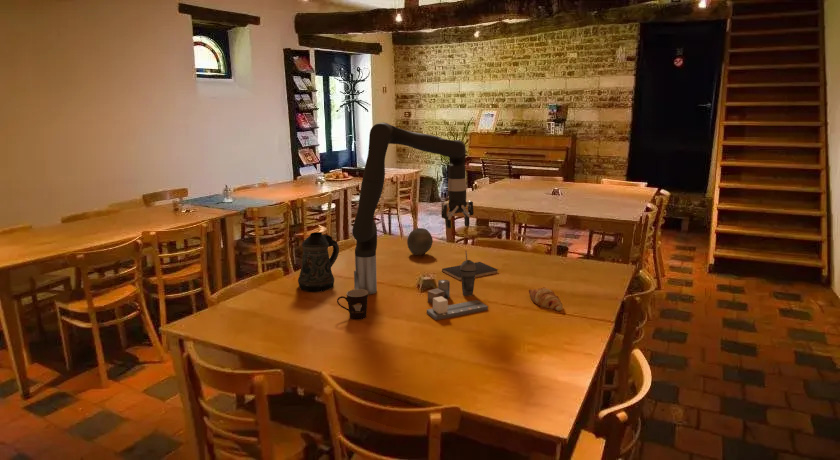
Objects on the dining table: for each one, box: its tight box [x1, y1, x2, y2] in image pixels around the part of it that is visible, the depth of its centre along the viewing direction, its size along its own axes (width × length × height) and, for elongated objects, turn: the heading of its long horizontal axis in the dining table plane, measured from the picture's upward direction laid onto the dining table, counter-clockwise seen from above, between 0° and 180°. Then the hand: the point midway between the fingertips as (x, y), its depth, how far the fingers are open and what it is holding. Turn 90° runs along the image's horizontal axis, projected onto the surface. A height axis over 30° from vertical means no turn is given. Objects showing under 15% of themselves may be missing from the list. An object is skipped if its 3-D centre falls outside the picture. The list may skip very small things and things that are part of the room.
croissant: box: [528, 287, 564, 312], centre depth 222 cm, size 21×10×8 cm, turn 26°
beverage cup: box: [460, 250, 476, 297], centre depth 231 cm, size 7×7×20 cm
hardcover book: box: [441, 261, 499, 281], centre depth 263 cm, size 16×23×2 cm
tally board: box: [426, 299, 489, 321], centre depth 214 cm, size 24×8×2 cm, turn 116°
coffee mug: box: [336, 288, 369, 321], centre depth 208 cm, size 12×9×10 cm
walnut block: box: [427, 287, 444, 305], centre depth 224 cm, size 5×5×5 cm
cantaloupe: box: [406, 227, 434, 256], centre depth 291 cm, size 14×14×15 cm
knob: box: [432, 296, 449, 314], centre depth 210 cm, size 4×5×5 cm
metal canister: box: [437, 279, 451, 300], centre depth 229 cm, size 5×5×7 cm
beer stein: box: [297, 231, 340, 293], centre depth 242 cm, size 16×19×25 cm
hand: (457, 226), depth 223 cm, fingers open, 8 cm apart
